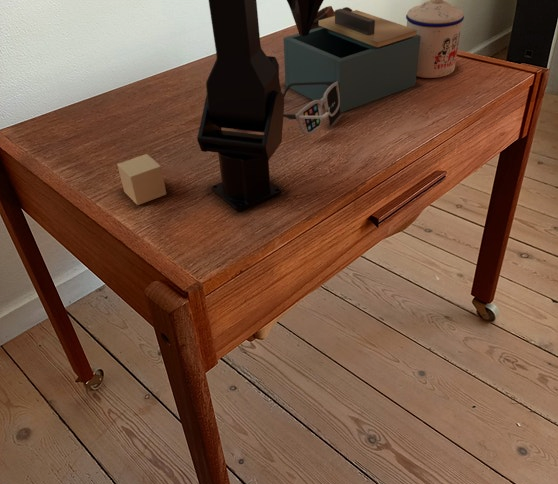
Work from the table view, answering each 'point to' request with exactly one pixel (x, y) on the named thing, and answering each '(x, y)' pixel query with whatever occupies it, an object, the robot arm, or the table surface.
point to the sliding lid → (367, 27)
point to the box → (349, 66)
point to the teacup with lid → (436, 36)
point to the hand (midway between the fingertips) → (303, 35)
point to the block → (142, 179)
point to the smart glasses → (312, 114)
